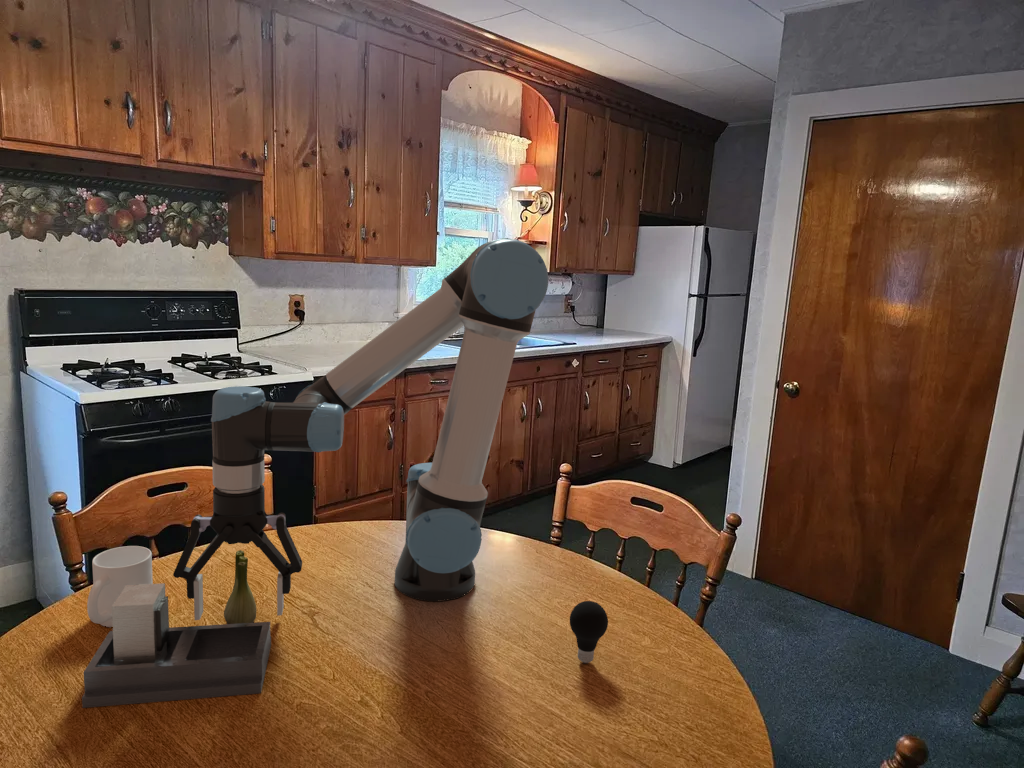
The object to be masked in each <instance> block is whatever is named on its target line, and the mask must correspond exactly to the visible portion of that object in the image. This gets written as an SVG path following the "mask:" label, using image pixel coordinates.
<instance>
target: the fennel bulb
mask: <svg viewBox="0 0 1024 768" xmlns="http://www.w3.org/2000/svg"><path fill="white" fill-rule="evenodd" d="M234 560H235V563H234V564H235V565H234V569H235V573H234V583H233V586H232V591H231V593H230V595H229V598H228V600H227V601H226V604H225V607H224V610H223V617H224V621H225V622H226V624H239V623H255V620H256V618H257V604H256V600H255V597H254V594H253V591H252V590H251V588H250V586H249V582H248V564H249V563H248V562H249V558H248V557H246V556H245V552H244V550H236V553H235V558H234Z"/></svg>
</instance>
